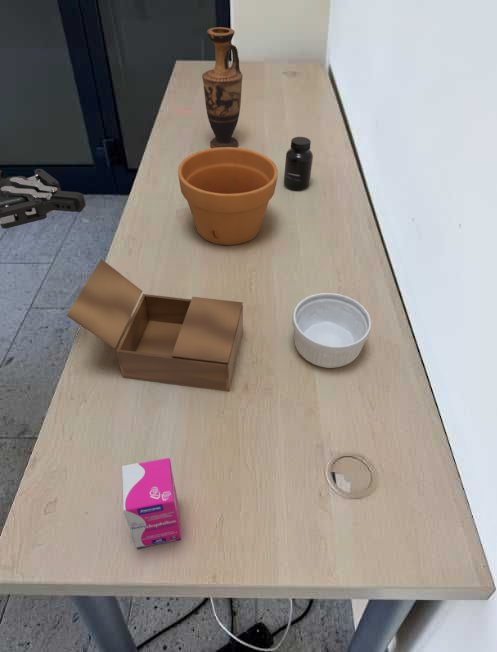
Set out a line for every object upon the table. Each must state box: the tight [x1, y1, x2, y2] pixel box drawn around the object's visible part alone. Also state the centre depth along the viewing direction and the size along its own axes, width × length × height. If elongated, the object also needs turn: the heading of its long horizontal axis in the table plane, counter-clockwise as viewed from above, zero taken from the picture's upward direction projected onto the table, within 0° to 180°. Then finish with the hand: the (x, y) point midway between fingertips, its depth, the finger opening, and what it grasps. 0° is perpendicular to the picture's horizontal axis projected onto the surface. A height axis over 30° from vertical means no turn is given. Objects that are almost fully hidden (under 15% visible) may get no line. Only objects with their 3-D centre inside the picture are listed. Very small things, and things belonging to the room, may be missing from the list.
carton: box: [115, 293, 244, 392], centre depth 82 cm, size 14×18×7 cm
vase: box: [201, 26, 243, 149], centre depth 134 cm, size 11×11×30 cm
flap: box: [66, 258, 143, 349], centre depth 79 cm, size 14×9×1 cm
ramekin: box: [291, 292, 372, 369], centre depth 84 cm, size 13×13×7 cm
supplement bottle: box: [283, 136, 314, 192], centre depth 123 cm, size 7×7×12 cm
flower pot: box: [177, 147, 279, 246], centre depth 108 cm, size 21×21×15 cm
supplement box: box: [121, 457, 182, 549], centre depth 59 cm, size 6×6×12 cm
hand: (82, 202), depth 67 cm, fingers closed
